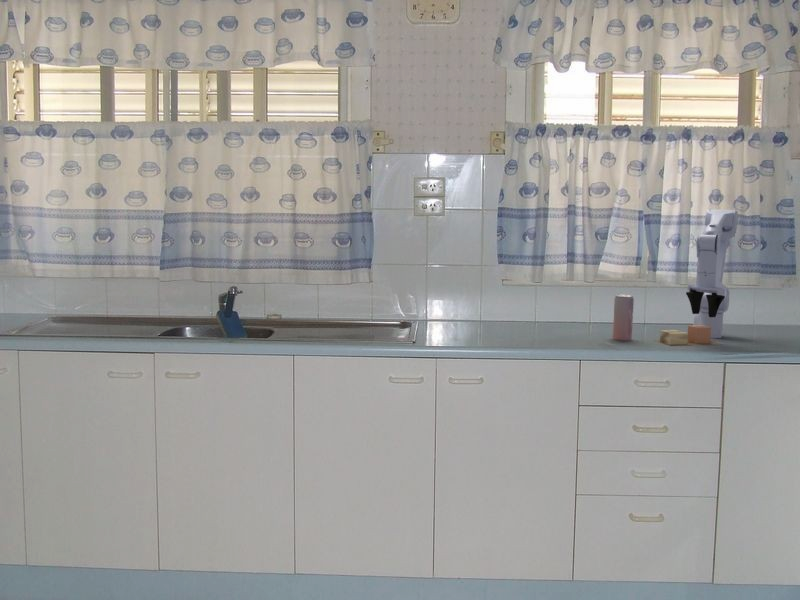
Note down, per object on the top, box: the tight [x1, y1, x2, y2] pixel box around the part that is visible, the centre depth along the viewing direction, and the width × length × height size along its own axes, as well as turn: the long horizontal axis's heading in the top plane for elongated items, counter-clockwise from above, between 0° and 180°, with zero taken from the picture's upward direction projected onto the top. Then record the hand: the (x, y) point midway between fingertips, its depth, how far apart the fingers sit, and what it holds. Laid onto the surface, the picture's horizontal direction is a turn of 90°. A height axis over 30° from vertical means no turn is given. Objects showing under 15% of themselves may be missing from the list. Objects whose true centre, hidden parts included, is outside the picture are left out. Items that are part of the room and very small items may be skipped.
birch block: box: [659, 329, 688, 345], centre depth 263 cm, size 6×6×4 cm
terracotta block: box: [687, 324, 712, 344], centre depth 265 cm, size 5×5×5 cm
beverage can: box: [612, 294, 635, 342], centre depth 268 cm, size 6×6×15 cm
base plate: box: [654, 339, 720, 347], centre depth 264 cm, size 10×18×1 cm, turn 104°
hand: (703, 315), depth 263 cm, fingers open, 7 cm apart
